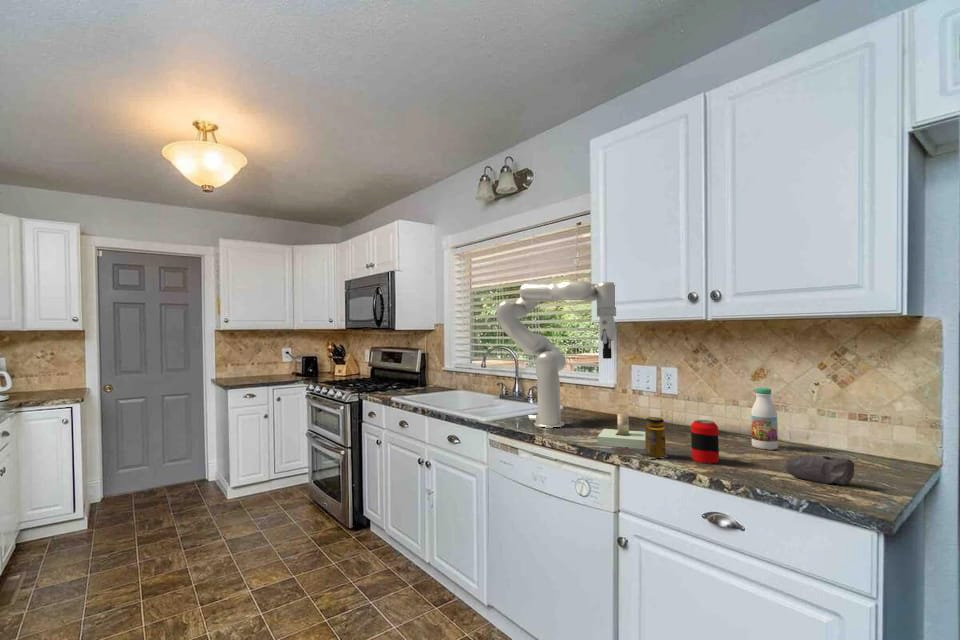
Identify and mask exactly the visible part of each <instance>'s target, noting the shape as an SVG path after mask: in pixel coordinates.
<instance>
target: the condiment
mask: <svg viewBox="0 0 960 640" xmlns="http://www.w3.org/2000/svg"><path fill="white" fill-rule="evenodd" d="M645 424H646V425H645V427H644V428H645V430H644V432H645V445H646V449H645V452H642V453H635V455H636V456H638V457H641V458H643V456H644V457H645V458H644V459H647V458H646V457H647V456H649V457H655V458H660V457H665V455H667V454H666V453H667V452H666V451H667V450H666V449H667V448H666V428H665V422H664V419H663V418H661V417H656V416H655V417H653V416H652V417H651V416H649V417H646V423H645Z"/></svg>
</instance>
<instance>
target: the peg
mask: <svg viewBox="0 0 960 640" xmlns="http://www.w3.org/2000/svg"><path fill="white" fill-rule="evenodd" d="M616 416H617V430H618V435H620V436H628V435H629V431H630V430H629V429H630V423H629V421H630V420H629V419H630V418H629V416H630V415H629V414H628V413H617V415H616Z"/></svg>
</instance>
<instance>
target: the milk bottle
mask: <svg viewBox="0 0 960 640" xmlns="http://www.w3.org/2000/svg"><path fill="white" fill-rule="evenodd" d="M755 396H756V398H755V401H754V403H753V405H752V407H751V411H750V412H751V413H750V424H751V427H750V428H751V430H750V431H751V432H750V433H751V445H752V446H751V447H753V448H756V449H758V450H759V449H760V450H766V449H767V450H768V451H770V450H771V451H773V450H774V449H775V450H777V449H778V448H779V431H778V430H779V429H778V428H779V427H778V425H779V424H778V413H777V409H776V407H775V405H774V403H773V401H772V399H771V398H772V397H771V396H772V389H771V388H767V387H756V388H755ZM767 450H766V451H767Z"/></svg>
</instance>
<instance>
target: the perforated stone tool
mask: <svg viewBox="0 0 960 640" xmlns="http://www.w3.org/2000/svg"><path fill="white" fill-rule="evenodd" d="M784 468H785V470H786V472H787V473H788V474H789V475H791V476H792V477H795V478H798V479H801V480H807V479H808V480H807V481H811V482H814V483H819V482H820V483H821V484H826V485H827V484H836V485H837V486H838V485H839V486H844V485H846V484H847V485H848V484H849V483H851V481H852V480H853V479H854V475H855V472H856V470H855V462H854V461H852V459H850V458H843V457H835V456H827V455H806V454H805V455H797V456H793V457H790V458H788V459H786V460H785V463H784Z"/></svg>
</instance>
